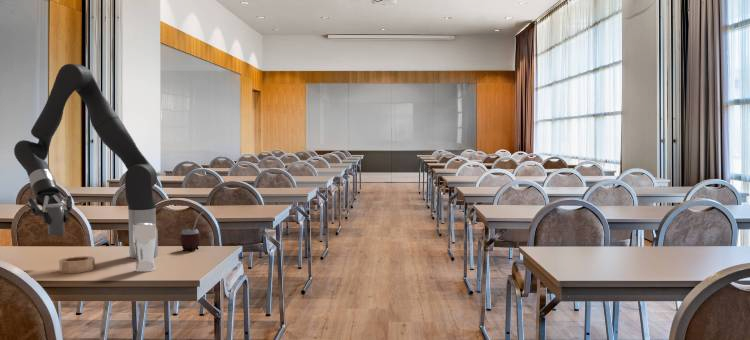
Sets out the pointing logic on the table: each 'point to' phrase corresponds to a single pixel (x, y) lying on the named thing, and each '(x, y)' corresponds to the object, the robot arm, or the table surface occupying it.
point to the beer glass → (144, 246)
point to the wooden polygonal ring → (76, 264)
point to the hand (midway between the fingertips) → (57, 221)
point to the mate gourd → (190, 238)
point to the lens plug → (56, 219)
